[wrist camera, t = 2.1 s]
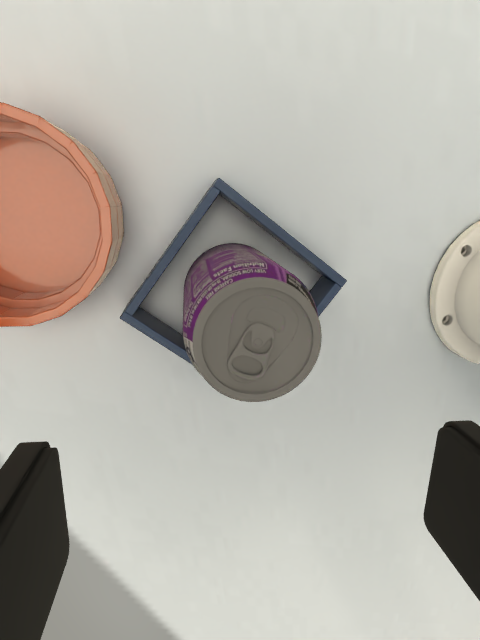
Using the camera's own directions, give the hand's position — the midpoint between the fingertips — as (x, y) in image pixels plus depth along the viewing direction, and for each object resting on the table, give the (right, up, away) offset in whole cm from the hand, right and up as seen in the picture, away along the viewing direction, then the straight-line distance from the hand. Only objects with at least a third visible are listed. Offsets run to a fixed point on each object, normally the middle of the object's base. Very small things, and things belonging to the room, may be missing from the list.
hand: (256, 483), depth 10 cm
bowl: (-14, +11, +17) cm, 25 cm away
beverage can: (-1, +6, +21) cm, 22 cm away
